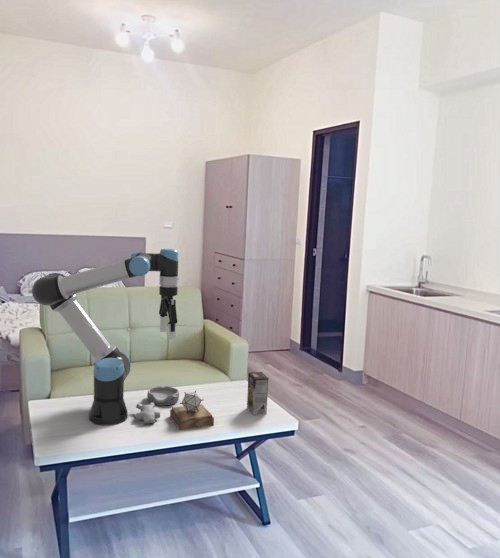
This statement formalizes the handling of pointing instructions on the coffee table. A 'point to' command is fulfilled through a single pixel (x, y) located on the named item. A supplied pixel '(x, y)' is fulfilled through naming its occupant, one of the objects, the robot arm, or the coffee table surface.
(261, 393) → the coffee box
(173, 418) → the plinth
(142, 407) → the grey teddy bear
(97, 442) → the coffee table surface
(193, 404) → the game die
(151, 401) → the dish
